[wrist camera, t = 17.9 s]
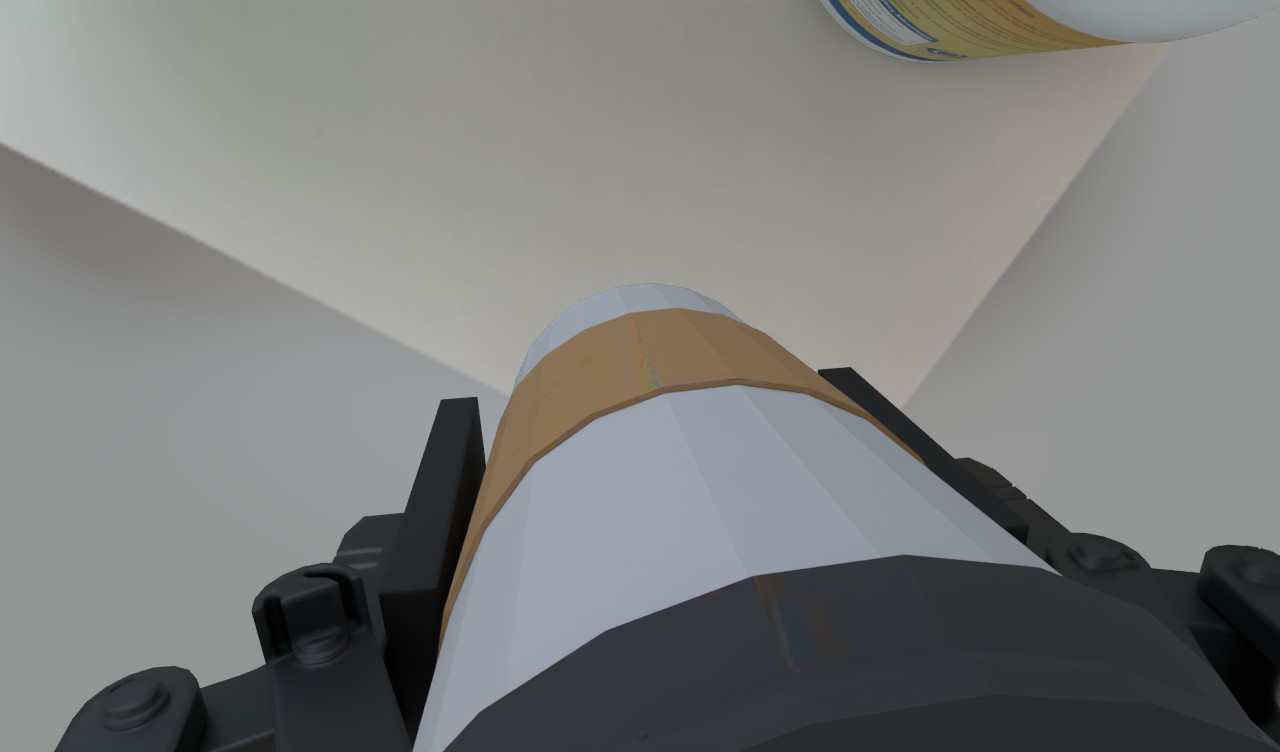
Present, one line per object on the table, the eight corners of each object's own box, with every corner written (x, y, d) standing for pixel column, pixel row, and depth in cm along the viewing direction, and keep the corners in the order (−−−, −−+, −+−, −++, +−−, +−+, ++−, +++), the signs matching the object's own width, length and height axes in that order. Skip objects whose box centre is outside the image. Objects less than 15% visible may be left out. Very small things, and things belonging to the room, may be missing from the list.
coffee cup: (780, 540, 20) (1289, 1484, 7) (475, 547, 19) (306, 1707, 5) (824, 241, 18) (1903, 797, 4) (467, 228, 16) (53, 970, 2)
